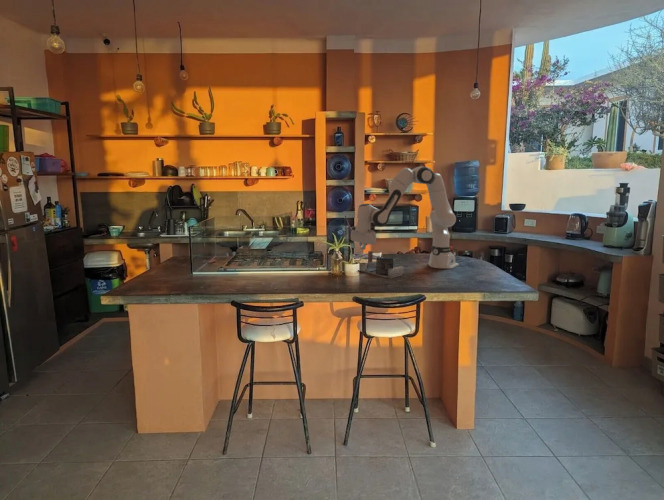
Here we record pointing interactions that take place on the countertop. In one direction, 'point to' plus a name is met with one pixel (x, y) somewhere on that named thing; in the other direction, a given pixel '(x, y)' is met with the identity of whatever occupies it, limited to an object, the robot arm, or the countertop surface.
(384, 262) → the small box
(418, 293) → the countertop surface
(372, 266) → the sliding jaw
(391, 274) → the fixed jaw
